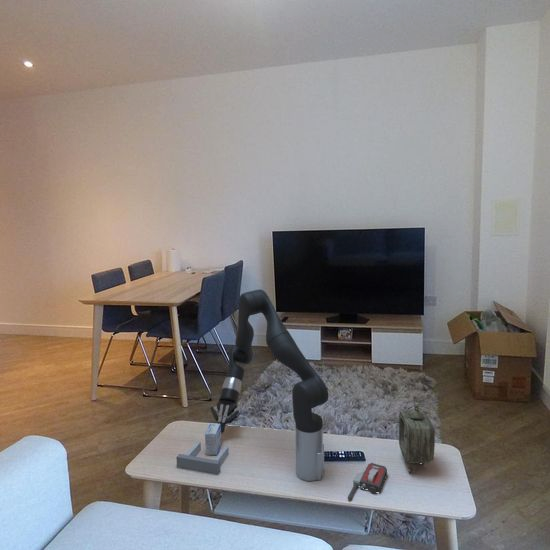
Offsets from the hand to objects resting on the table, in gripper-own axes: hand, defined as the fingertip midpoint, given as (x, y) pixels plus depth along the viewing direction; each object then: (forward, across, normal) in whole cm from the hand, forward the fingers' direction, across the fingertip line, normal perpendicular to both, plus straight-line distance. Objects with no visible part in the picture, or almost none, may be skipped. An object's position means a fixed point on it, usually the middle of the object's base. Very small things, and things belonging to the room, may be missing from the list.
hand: (219, 433), depth 161 cm
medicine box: (+6, 0, 0) cm, 7 cm away
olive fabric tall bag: (-1, +73, +8) cm, 73 cm away
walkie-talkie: (+11, +58, -4) cm, 59 cm away
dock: (+12, 0, -6) cm, 13 cm away
